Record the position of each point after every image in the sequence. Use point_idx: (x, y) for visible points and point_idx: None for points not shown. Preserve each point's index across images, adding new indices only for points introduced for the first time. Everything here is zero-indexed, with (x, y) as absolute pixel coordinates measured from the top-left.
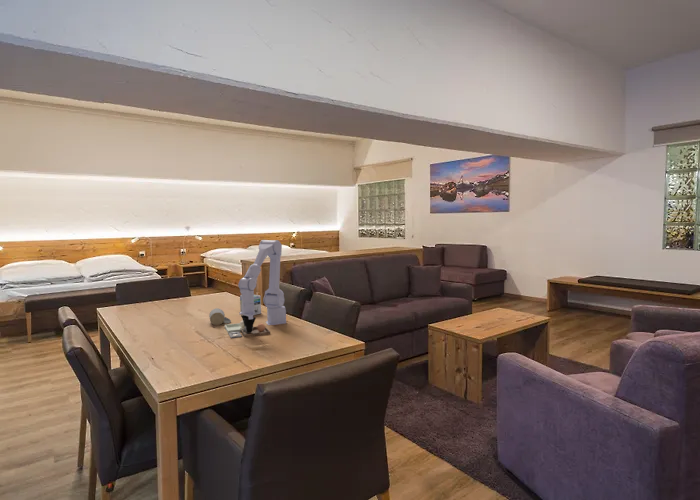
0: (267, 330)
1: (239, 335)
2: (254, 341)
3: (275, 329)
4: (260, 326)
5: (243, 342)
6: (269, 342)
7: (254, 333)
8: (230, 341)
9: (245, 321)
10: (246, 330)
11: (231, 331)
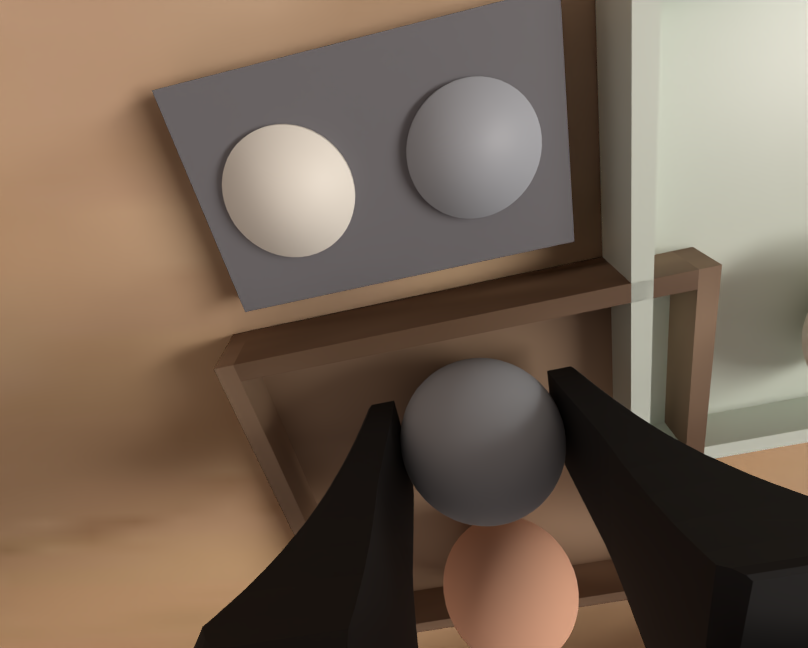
0: (435, 613)
1: (278, 268)
2: (75, 463)
3: (581, 630)
4: (457, 616)
5: (2, 330)
6: (50, 595)
7: (279, 500)
8: (30, 92)
9: (232, 614)
10: (410, 407)
11: (619, 71)
